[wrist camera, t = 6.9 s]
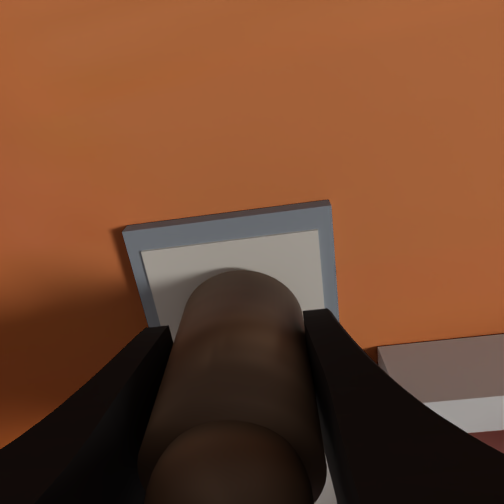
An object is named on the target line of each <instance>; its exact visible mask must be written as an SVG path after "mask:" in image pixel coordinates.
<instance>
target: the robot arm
mask: <svg viewBox="0 0 504 504" xmlns="http://www.w3.org/2000/svg"><path fill="white" fill-rule="evenodd" d="M303 319H304V329H305V337H306V343H307V350H308V356H309V362H310V366H311V371H312V377H313V382H314V389H315V395H316V401H317V407H318V414H319V420H320V426H321V432H322V439H323V445H324V451H325V456H326V460H327V464H328V468H329V472H330V476H331V480H332V484H333V488H334V492H335V496H336V500H337V504H504V453H502V452H500V451H498V450H496V449H494V448H493V447H491V446H489V445H487V444H485V443H484V442H482V441H480V440H478V439H477V438H475V437H473V436H472V435H470V434H468V433H467V432H465V431H464V430H462V429H461V428H459V427H457V426H456V425H454V424H453V423H451V422H449V421H448V420H446V419H445V418H443V417H442V416H440V415H438V414H437V413H436V412H434V411H433V410H431V409H430V408H429V407H427V406H426V405H424V404H423V403H422V402H421V401H419V400H418V399H417V398H415V397H414V396H413V395H411V394H410V393H409V392H408V391H406V390H405V389H404V388H403V387H402V386H400V385H399V384H398V383H397V382H396V381H395V380H393V379H392V378H391V377H390V376H389V375H388V374H387V373H386V372H385V371H384V370H382V369H381V368H380V367H379V366H378V365H377V364H376V363H375V362H374V361H373V360H372V359H371V358H370V357H369V356H368V355H367V354H366V353H365V352H364V351H363V350H362V349H361V347H360V346H359V345H358V344H357V343H356V342H355V341H354V340H353V339H352V338H351V336H350V335H349V334H348V333H347V332H346V330H345V329H344V328H343V327H342V326H341V324H340V323H339V322H338V320H337V319H336V318H335V316H334V315H333V313H332V312H331V311H330V310H329V309H327V308H325V309H315V310H306V311H303ZM172 346H173V340H172V336H171V332H170V328H169V325H167V326H158V327H149V328H145V329H144V330H143V331H141V332H140V333H139V334H138V335H137V336H136V337H135V338H134V339H133V340H132V341H131V342H129V343H128V344H127V345H126V346H125V347H124V348H123V349H122V350H121V351H120V352H119V353H118V354H117V355H116V356H115V357H114V358H113V359H112V360H111V361H110V362H109V363H108V364H106V365H105V366H104V367H103V368H102V369H101V370H100V371H99V372H98V373H97V374H96V375H95V376H94V377H93V378H91V379H90V380H89V381H88V382H87V383H86V384H85V385H83V386H82V387H81V388H80V389H79V390H78V391H76V392H75V393H74V394H73V395H72V396H71V397H70V398H68V399H67V400H66V401H65V402H64V403H63V404H62V405H60V406H59V407H58V408H57V409H55V410H54V411H53V412H52V413H50V414H49V415H48V416H46V417H45V418H44V419H43V420H41V421H40V422H39V423H37V424H36V425H35V426H33V427H32V428H30V429H29V430H28V431H26V432H25V433H24V434H22V435H21V436H20V437H18V438H17V439H15V440H14V441H12V442H11V443H9V444H8V445H6V446H5V447H3V448H2V449H0V504H144V500H145V494H146V492H145V490H144V488H143V486H142V484H141V482H140V479H139V474H138V467H137V461H138V453H139V450H140V447H141V444H142V441H143V438H144V435H145V431H146V428H147V425H148V422H149V419H150V416H151V412H152V409H153V406H154V403H155V400H156V397H157V394H158V390H159V387H160V384H161V381H162V378H163V375H164V372H165V368H166V365H167V362H168V359H169V356H170V353H171V349H172Z"/></svg>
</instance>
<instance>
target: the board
mask: <svg viewBox="0 0 504 504" xmlns="http://www.w3.org/2000/svg"><path fill="white" fill-rule="evenodd" d="M122 234H123V237H124V241H125V245H126V248H127V252H128V255H129V259H130V262H131V266H132V269H133V273H134V277H135V280H136V284H137V287H138V291H139V294H140V298H141V301H142V305H143V309H144V312H145V316H146V319H147V323H148V326H149V327H158V326H167V325H169V328H170V332H171V336H172V340H173V343H174V340H175V337H176V334H177V331H178V327H179V324H180V321H181V318H182V315H183V312H184V308H185V305H186V303H187V301H188V299H189V297H190V295H191V294H192V293H193V291H194V290H195V289H196V288H197V287H198V286H199V285H200V284H202V283H203V282H204V281H206V280H207V279H209V278H211V277H213V276H215V275H217V274H220V273H224V272H228V271H234V270H249V271H255V272H260V273H263V274H266V275H269V276H271V277H273V278H275V279H277V280H278V281H280V282H281V283H283V284H284V285H285V286H286V287H287V288H288V289H289V290H290V291H291V292H292V293H293V294H294V296H295V297H296V298H297V300H298V302H299V304H300V307H301V310H302V314H303V311H306V310H315V309H325V308H327V309H329V310H330V311H331V312H332V313H333V315H334V316H335V318H336V319H337V320H338V322H339V311H338V296H337V282H336V267H335V253H334V238H333V224H332V209H331V204H330V202H329V200H322V201H315V202H307V203H299V204H291V205H283V206H276V207H268V208H260V209H252V210H244V211H237V212H229V213H221V214H213V215H205V216H198V217H190V218H182V219H174V220H166V221H159V222H151V223H143V224H135V225H127V226H126V228H125V229H124V230H123V231H122ZM303 320H304V319H303ZM325 458H326V456H325ZM326 464H327V460H326ZM314 504H337V500H336V496H335V492H334V488H333V484H332V480H331V476H330V472H329V468H328V464H327V477H326V482H325V485H324V488H323V491H322V493H321V494H320V496H319V498H318V500H317V501H316V502H315V503H314Z"/></svg>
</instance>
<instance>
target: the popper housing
mask: <svg viewBox="0 0 504 504" xmlns="http://www.w3.org/2000/svg"><path fill="white" fill-rule="evenodd" d="M378 366H379V367H380V368H381V369H382V370H384V371H385V372H386V373H387V374H388V375H389V376H390V377H391V378H392V379H393V380H395V381H396V382H397V383H398V384H399V385H400V386H402V387H403V388H404V389H405V390H406V391H408V392H409V393H410V394H411V395H413V396H414V397H415V398H417V399H418V400H419V401H421V402H422V403H423V404H424V405H426V406H427V407H429V408H430V409H431V410H433V411H434V412H436V413H437V414H438V415H440V416H442V417H443V418H445V419H446V420H448V421H449V422H451V423H453V424H454V425H456V426H457V427H459V428H461V429H462V430H464V431H465V432H467V433H474V432H486V431H497V430H504V334H498V335H488V336H479V337H469V338H459V339H449V340H439V341H430V342H420V343H410V344H400V345H391V346H381V347H378Z"/></svg>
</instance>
